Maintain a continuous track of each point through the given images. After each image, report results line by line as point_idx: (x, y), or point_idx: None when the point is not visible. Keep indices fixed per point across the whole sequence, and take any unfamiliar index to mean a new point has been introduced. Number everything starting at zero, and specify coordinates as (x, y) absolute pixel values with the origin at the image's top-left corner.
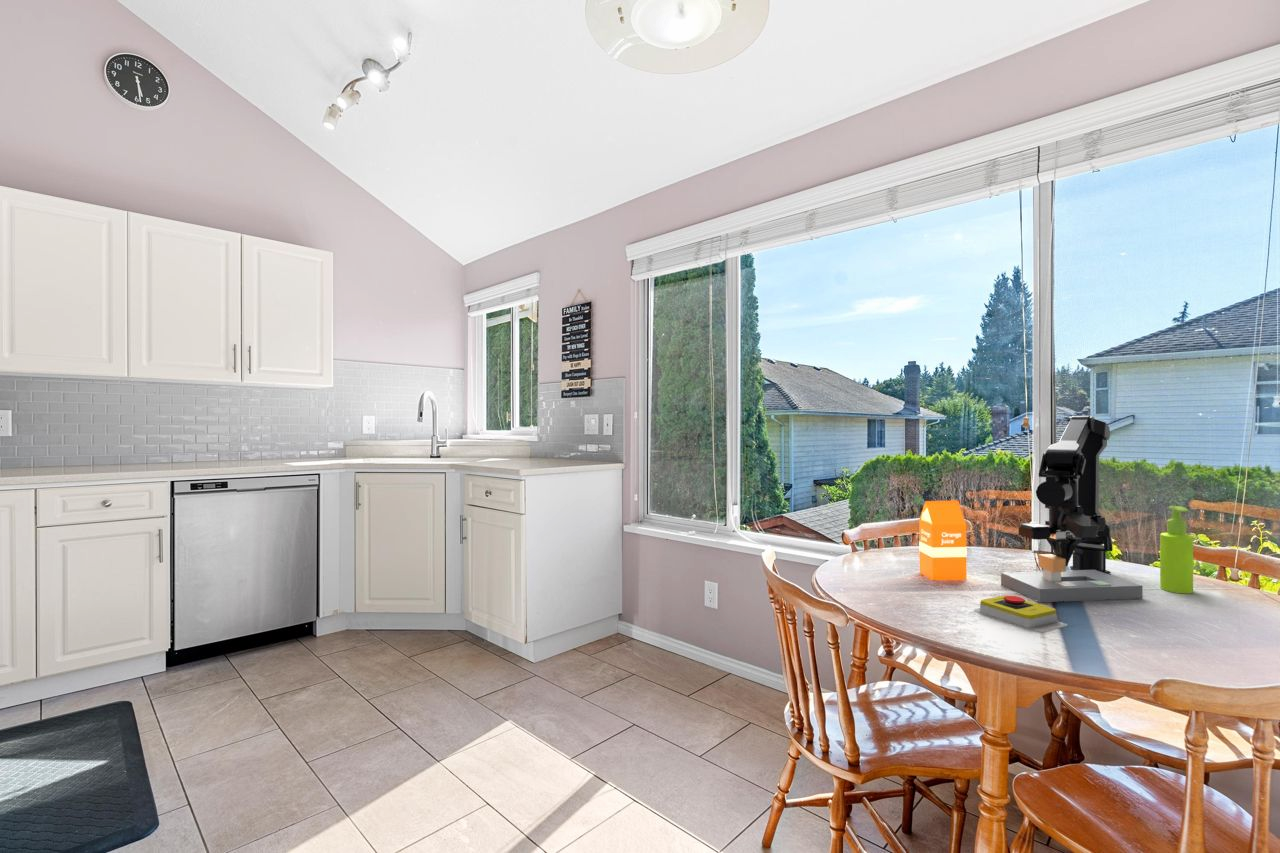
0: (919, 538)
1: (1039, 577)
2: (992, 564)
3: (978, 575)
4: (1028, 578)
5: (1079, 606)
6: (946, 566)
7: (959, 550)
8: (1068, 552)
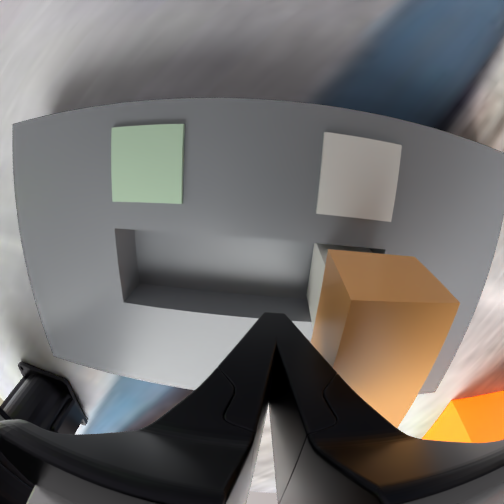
0: None
1: None
2: (257, 482)
3: None
4: None
5: (378, 56)
6: (502, 419)
7: None
8: (267, 379)
